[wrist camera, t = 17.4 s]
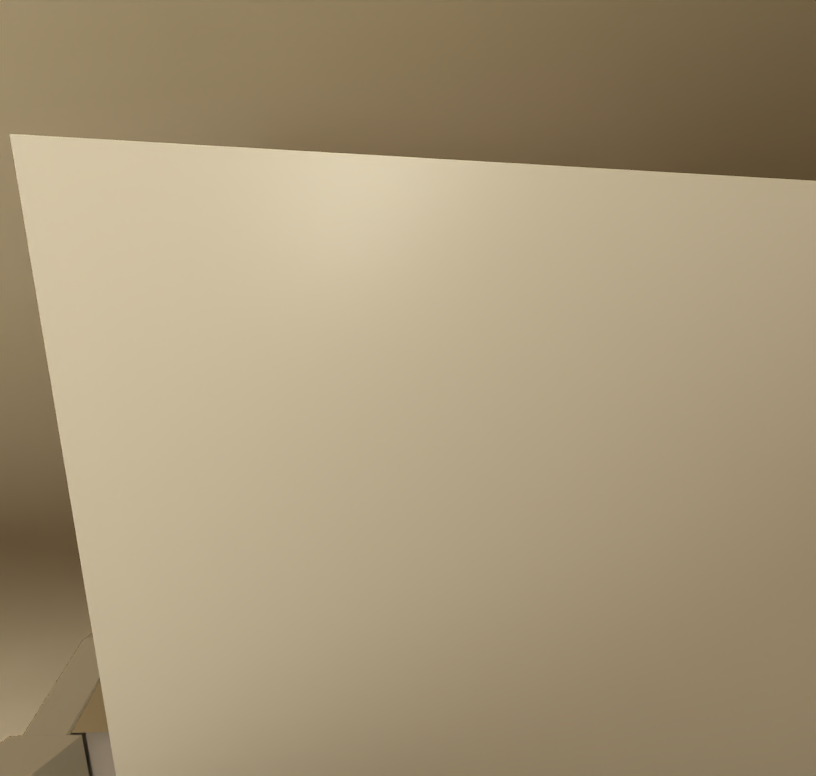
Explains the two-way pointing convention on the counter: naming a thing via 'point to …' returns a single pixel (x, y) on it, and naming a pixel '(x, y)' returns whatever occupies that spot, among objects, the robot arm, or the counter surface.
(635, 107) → the counter surface
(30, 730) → the robot arm
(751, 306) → the matte white cuboid
